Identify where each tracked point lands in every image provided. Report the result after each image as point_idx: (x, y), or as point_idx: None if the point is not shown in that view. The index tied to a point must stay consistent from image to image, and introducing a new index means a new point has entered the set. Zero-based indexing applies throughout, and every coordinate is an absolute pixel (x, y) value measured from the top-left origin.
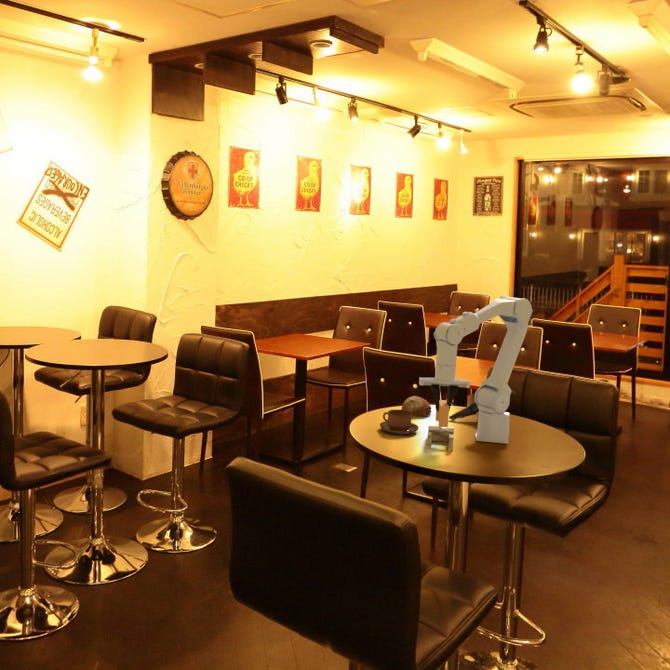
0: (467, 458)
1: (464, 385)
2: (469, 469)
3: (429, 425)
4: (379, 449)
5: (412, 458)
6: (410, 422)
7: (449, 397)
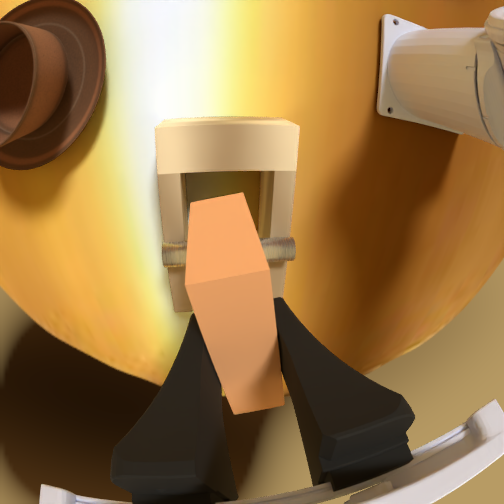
0: (309, 316)
1: (454, 445)
2: None
3: (157, 141)
4: (57, 325)
5: (158, 361)
6: (55, 85)
7: (300, 427)
